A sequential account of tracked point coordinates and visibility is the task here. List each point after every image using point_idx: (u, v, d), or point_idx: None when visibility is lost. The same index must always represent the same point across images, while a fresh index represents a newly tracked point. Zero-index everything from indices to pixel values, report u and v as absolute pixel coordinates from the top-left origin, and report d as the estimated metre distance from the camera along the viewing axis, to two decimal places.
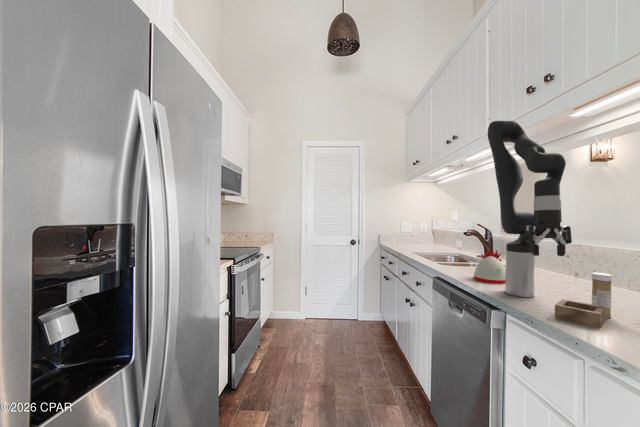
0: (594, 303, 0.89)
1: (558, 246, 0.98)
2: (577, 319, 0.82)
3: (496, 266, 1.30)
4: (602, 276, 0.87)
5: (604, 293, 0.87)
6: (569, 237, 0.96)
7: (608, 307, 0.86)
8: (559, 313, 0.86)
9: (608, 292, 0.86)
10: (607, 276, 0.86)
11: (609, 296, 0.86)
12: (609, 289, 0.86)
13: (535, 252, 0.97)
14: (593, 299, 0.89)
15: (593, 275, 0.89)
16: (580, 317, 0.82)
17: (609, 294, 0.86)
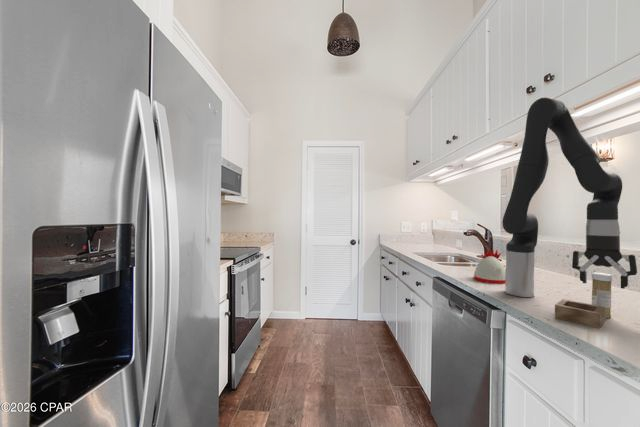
0: (594, 303, 0.89)
1: (585, 273, 0.91)
2: (577, 319, 0.82)
3: (496, 266, 1.30)
4: (602, 276, 0.87)
5: (605, 293, 0.87)
6: None
7: (608, 307, 0.86)
8: (559, 313, 0.86)
9: (608, 292, 0.86)
10: (607, 276, 0.86)
11: (609, 296, 0.86)
12: (609, 289, 0.86)
13: None
14: (593, 299, 0.89)
15: (593, 275, 0.89)
16: (580, 317, 0.82)
17: (609, 294, 0.86)
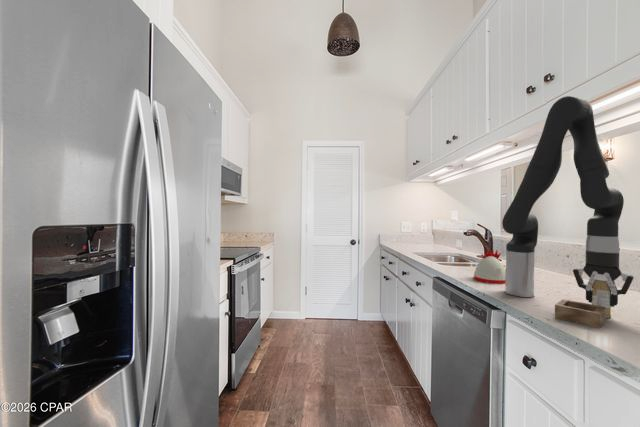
0: (594, 303, 0.89)
1: (591, 292, 0.90)
2: (577, 319, 0.82)
3: (496, 266, 1.30)
4: (601, 276, 0.87)
5: (604, 293, 0.87)
6: None
7: (608, 307, 0.86)
8: (559, 313, 0.86)
9: (608, 292, 0.86)
10: None
11: (609, 296, 0.86)
12: (609, 289, 0.86)
13: None
14: (593, 299, 0.89)
15: None
16: (580, 317, 0.82)
17: (609, 294, 0.86)
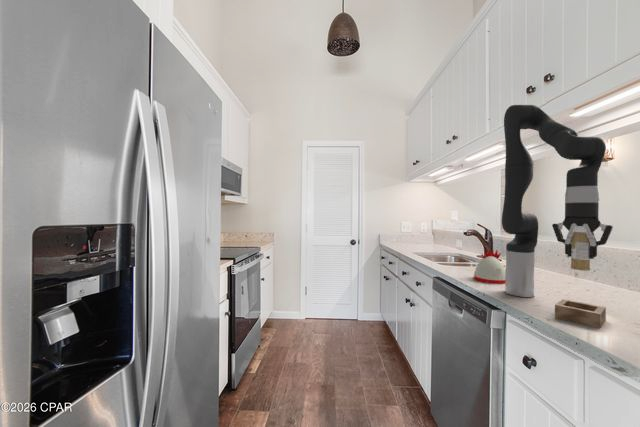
0: (573, 256, 0.86)
1: (570, 246, 0.87)
2: (577, 319, 0.82)
3: (496, 266, 1.30)
4: (580, 227, 0.84)
5: (583, 245, 0.84)
6: None
7: (587, 259, 0.84)
8: (559, 313, 0.86)
9: (587, 244, 0.84)
10: None
11: (588, 248, 0.84)
12: (588, 241, 0.84)
13: None
14: (572, 252, 0.86)
15: None
16: (580, 317, 0.82)
17: (588, 246, 0.84)
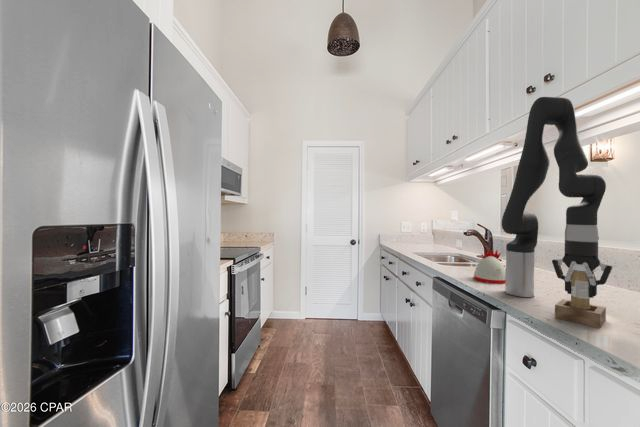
0: (573, 294, 0.86)
1: (570, 283, 0.87)
2: (577, 319, 0.82)
3: (496, 266, 1.30)
4: (580, 266, 0.84)
5: (583, 284, 0.84)
6: None
7: (587, 298, 0.83)
8: (559, 313, 0.86)
9: (587, 283, 0.83)
10: None
11: (588, 287, 0.84)
12: (588, 279, 0.84)
13: None
14: (572, 290, 0.86)
15: None
16: (580, 317, 0.82)
17: (588, 285, 0.84)
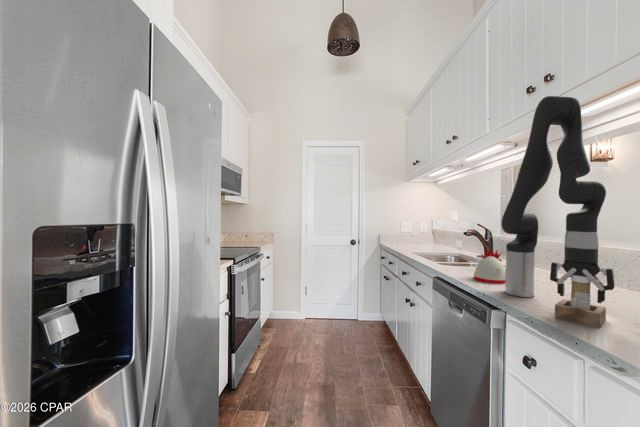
0: (573, 306, 0.86)
1: (563, 286, 0.88)
2: (577, 319, 0.82)
3: (496, 266, 1.30)
4: (580, 278, 0.84)
5: (583, 296, 0.84)
6: None
7: None
8: (559, 313, 0.86)
9: (587, 295, 0.83)
10: (586, 278, 0.83)
11: (588, 298, 0.84)
12: (588, 291, 0.84)
13: None
14: (572, 301, 0.86)
15: (572, 277, 0.86)
16: (580, 317, 0.82)
17: (588, 296, 0.84)
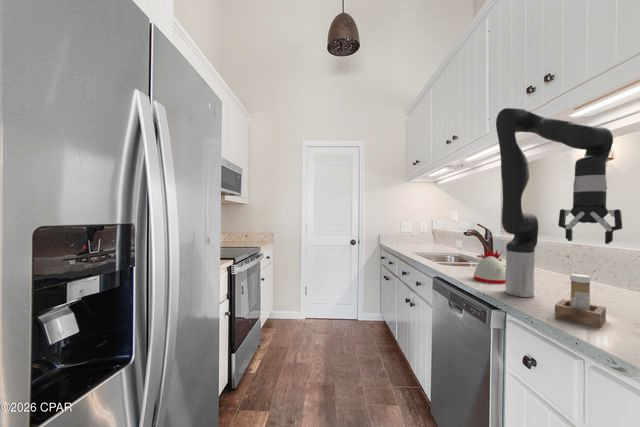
0: (573, 306, 0.86)
1: (571, 231, 0.91)
2: (577, 319, 0.82)
3: (496, 266, 1.30)
4: (580, 277, 0.84)
5: (583, 296, 0.84)
6: None
7: None
8: (559, 313, 0.86)
9: (586, 295, 0.84)
10: (585, 278, 0.84)
11: (587, 298, 0.84)
12: (587, 291, 0.84)
13: None
14: (572, 301, 0.86)
15: (571, 277, 0.86)
16: (580, 317, 0.82)
17: (587, 296, 0.84)
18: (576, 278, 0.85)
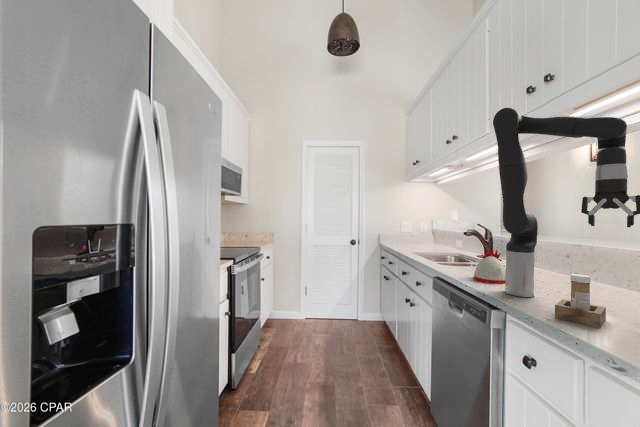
0: (573, 306, 0.86)
1: (593, 216, 0.97)
2: (577, 319, 0.82)
3: (496, 266, 1.30)
4: (580, 277, 0.84)
5: (583, 296, 0.84)
6: None
7: None
8: (559, 313, 0.86)
9: (586, 295, 0.84)
10: (585, 278, 0.84)
11: (588, 298, 0.84)
12: (588, 291, 0.84)
13: None
14: (572, 301, 0.86)
15: (572, 277, 0.86)
16: (580, 317, 0.82)
17: (588, 296, 0.84)
18: (576, 278, 0.85)
